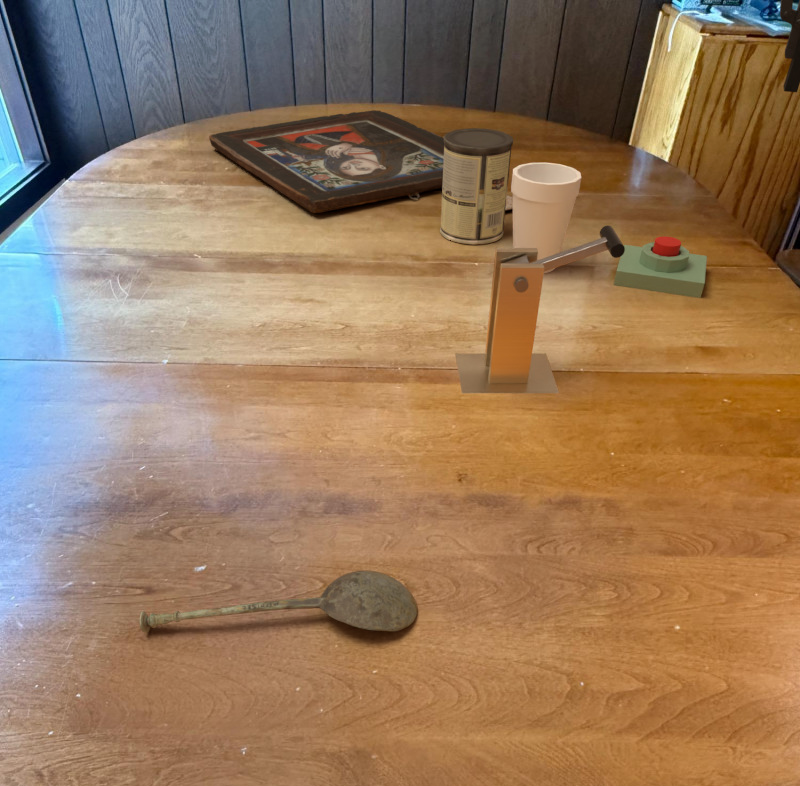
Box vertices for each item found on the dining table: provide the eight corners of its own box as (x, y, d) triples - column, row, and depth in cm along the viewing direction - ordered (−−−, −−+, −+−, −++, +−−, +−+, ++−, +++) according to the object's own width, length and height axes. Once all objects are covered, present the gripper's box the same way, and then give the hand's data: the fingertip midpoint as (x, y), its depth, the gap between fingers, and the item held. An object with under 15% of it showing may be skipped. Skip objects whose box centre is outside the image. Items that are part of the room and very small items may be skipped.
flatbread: (469, 211, 131) (469, 205, 130) (474, 196, 136) (474, 190, 136) (517, 215, 130) (518, 209, 129) (520, 200, 135) (521, 194, 135)
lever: (615, 240, 82) (611, 218, 81) (626, 259, 78) (623, 237, 77) (504, 278, 85) (498, 258, 83) (510, 299, 81) (505, 278, 79)
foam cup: (550, 284, 110) (564, 189, 102) (492, 269, 114) (501, 176, 105) (575, 261, 116) (591, 170, 108) (519, 247, 120) (530, 158, 111)
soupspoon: (422, 644, 62) (411, 587, 67) (425, 614, 60) (413, 558, 65) (137, 659, 59) (148, 599, 64) (129, 628, 57) (142, 569, 62)
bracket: (544, 362, 94) (563, 240, 84) (558, 402, 87) (580, 275, 77) (454, 362, 94) (463, 240, 84) (461, 402, 87) (471, 275, 77)
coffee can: (453, 216, 129) (458, 124, 120) (511, 227, 126) (522, 133, 117) (428, 238, 122) (433, 141, 113) (490, 249, 119) (499, 151, 110)
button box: (702, 270, 115) (710, 243, 112) (700, 298, 108) (708, 270, 105) (621, 258, 117) (626, 232, 115) (613, 285, 110) (619, 258, 108)
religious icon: (316, 222, 126) (315, 203, 124) (207, 150, 154) (204, 133, 152) (507, 180, 143) (509, 163, 141) (377, 122, 171) (377, 106, 169)
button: (678, 250, 111) (682, 238, 110) (677, 260, 109) (680, 247, 107) (653, 247, 112) (656, 234, 111) (651, 256, 109) (654, 244, 108)
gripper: (805, -166, 80) (735, 91, 96) (945, -164, 77) (849, 101, 93) (801, -166, 85) (735, 78, 101) (932, -163, 82) (843, 87, 98)
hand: (790, 89), depth 97 cm, fingers closed
